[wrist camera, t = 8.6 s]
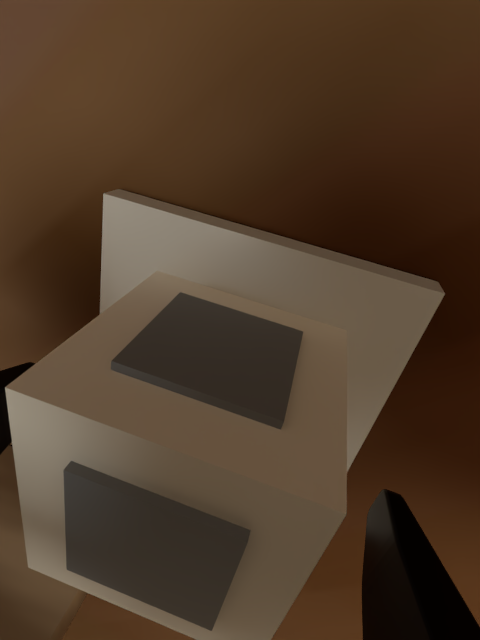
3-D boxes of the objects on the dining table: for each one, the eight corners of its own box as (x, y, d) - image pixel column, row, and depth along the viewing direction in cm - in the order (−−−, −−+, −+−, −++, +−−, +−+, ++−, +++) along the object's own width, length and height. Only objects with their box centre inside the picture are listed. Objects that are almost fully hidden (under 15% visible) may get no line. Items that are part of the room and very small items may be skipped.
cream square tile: (325, 495, 14) (323, 514, 13) (107, 415, 15) (96, 429, 14) (438, 281, 10) (445, 293, 9) (119, 188, 11) (103, 193, 10)
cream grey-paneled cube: (289, 464, 13) (253, 677, 8) (141, 410, 13) (21, 576, 8) (349, 324, 10) (351, 518, 5) (157, 263, 11) (-7, 385, 6)
